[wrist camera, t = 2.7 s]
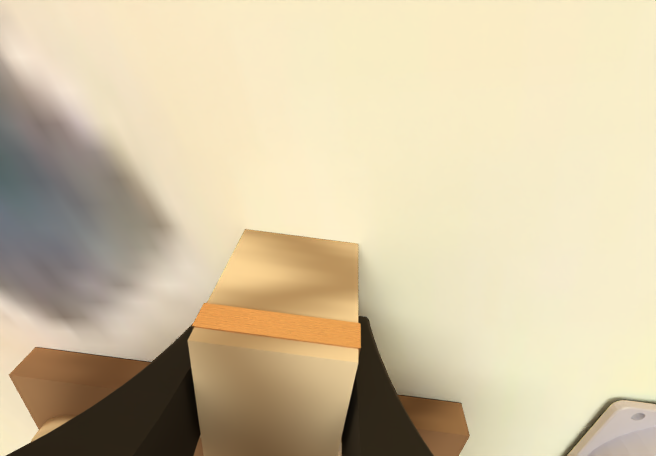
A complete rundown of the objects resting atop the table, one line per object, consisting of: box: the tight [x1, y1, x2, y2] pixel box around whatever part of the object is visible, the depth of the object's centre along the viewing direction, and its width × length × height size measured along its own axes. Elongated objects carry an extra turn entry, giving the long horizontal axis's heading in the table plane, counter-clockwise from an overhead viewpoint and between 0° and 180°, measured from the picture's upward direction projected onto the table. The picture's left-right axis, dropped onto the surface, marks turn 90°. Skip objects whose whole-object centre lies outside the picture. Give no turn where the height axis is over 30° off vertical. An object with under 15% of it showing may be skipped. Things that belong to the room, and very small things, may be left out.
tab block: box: [188, 229, 361, 456], centre depth 12 cm, size 4×6×5 cm
